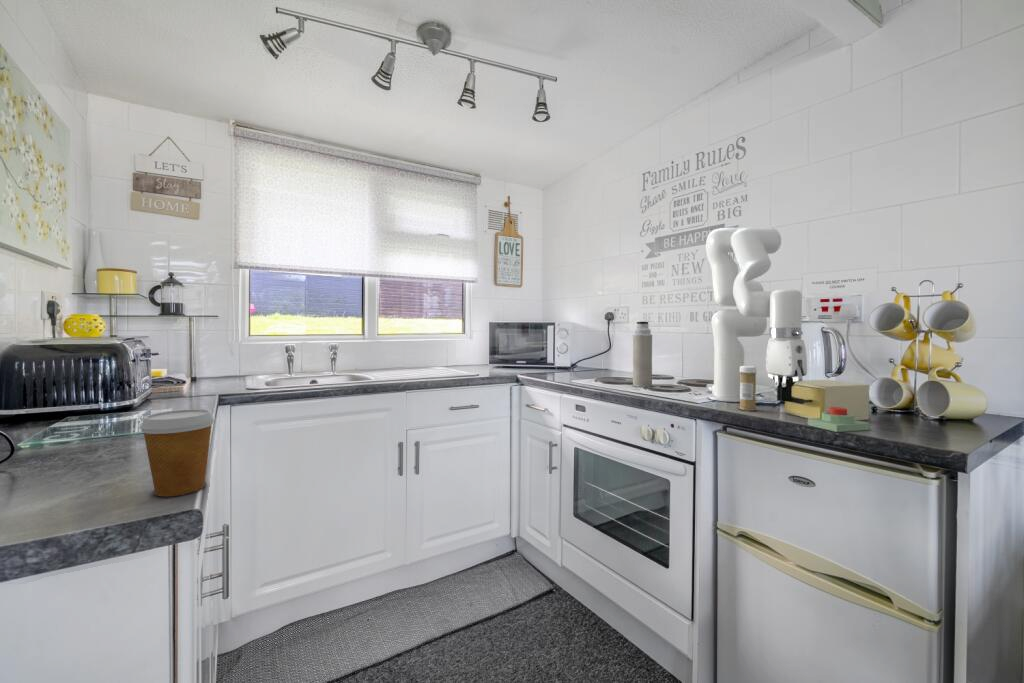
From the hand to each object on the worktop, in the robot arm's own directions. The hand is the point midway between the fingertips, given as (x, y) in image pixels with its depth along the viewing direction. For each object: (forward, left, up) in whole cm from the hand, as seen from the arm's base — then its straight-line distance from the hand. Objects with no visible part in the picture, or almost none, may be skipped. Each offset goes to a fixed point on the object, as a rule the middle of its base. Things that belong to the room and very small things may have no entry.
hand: (784, 400), depth 123 cm
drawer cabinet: (0, +14, -5) cm, 15 cm away
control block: (+12, +4, -5) cm, 14 cm away
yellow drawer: (0, +10, -4) cm, 11 cm away
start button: (+12, +4, -2) cm, 13 cm away
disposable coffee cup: (+22, -137, -5) cm, 139 cm away
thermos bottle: (-73, -2, -5) cm, 73 cm away
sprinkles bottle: (-14, 0, -5) cm, 15 cm away
